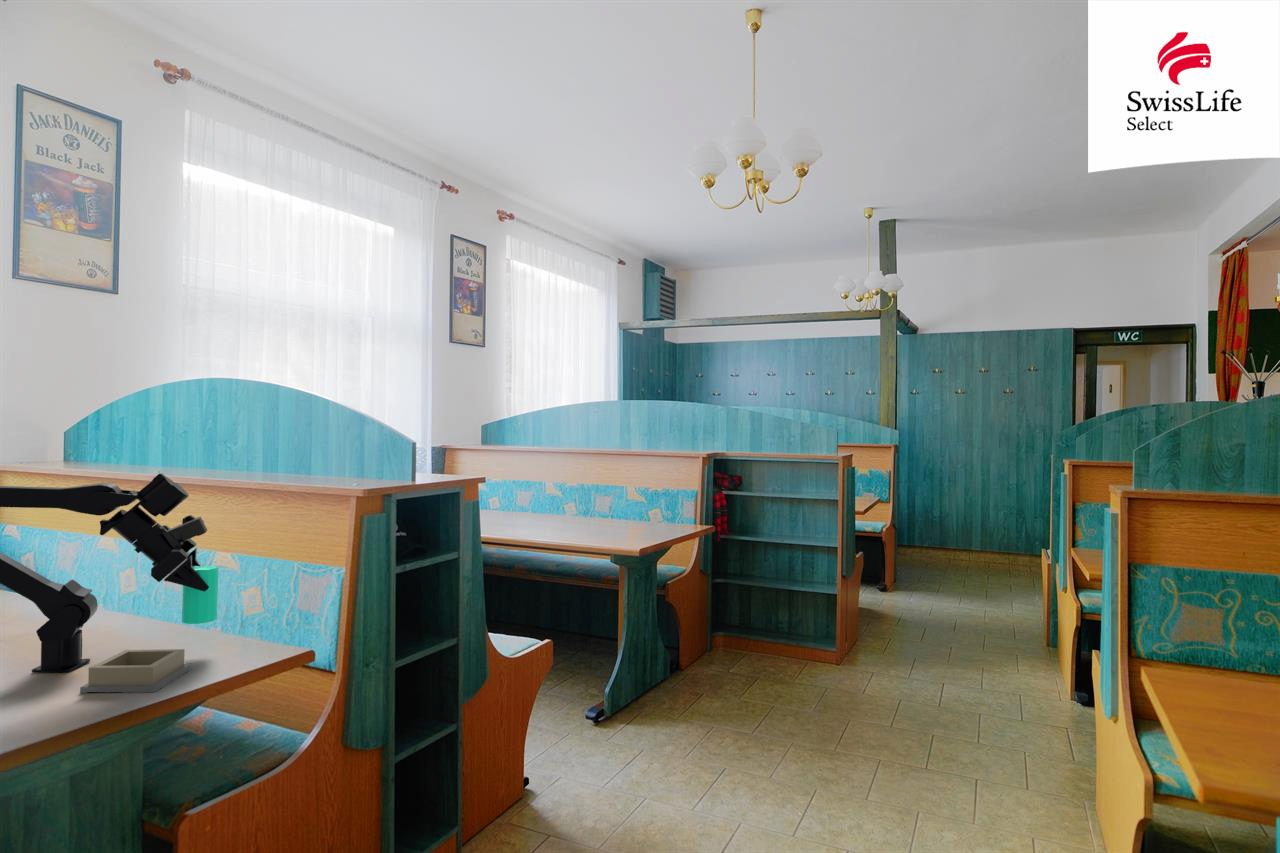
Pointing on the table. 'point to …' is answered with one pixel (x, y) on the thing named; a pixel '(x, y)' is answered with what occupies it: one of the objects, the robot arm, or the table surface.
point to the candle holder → (136, 671)
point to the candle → (201, 598)
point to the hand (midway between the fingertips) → (208, 586)
